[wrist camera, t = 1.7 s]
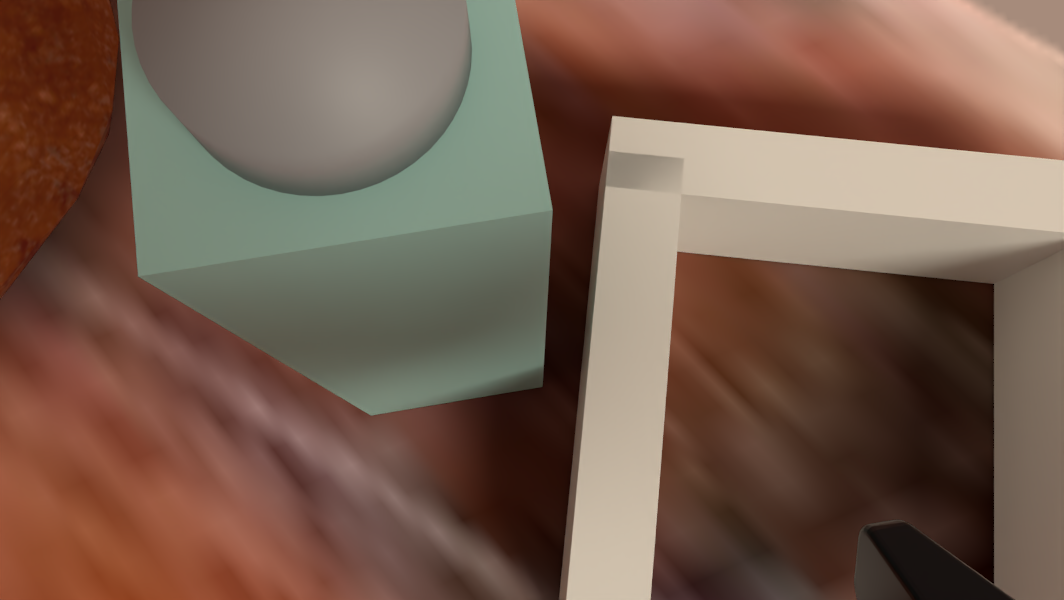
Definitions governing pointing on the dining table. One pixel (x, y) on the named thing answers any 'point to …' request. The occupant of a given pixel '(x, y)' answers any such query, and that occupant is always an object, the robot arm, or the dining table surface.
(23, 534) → the dining table surface
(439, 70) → the post
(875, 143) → the cradle
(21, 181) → the bread
